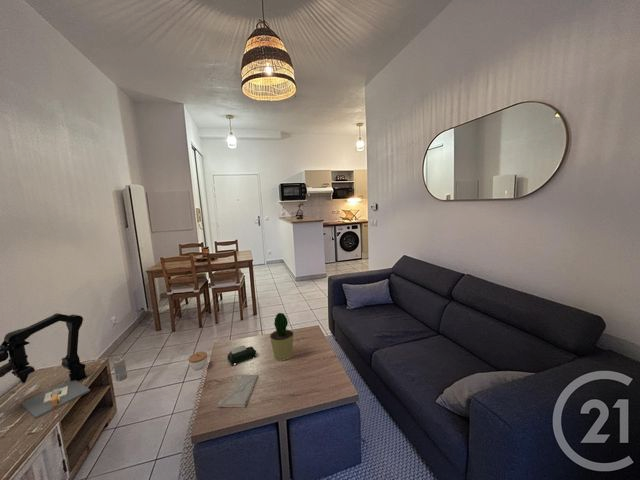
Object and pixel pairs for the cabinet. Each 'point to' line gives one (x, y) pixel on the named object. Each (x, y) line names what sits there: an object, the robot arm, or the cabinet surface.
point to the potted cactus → (281, 338)
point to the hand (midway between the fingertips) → (23, 382)
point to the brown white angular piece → (55, 396)
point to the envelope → (240, 390)
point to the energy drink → (120, 369)
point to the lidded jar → (198, 360)
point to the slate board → (74, 391)
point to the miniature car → (240, 354)
